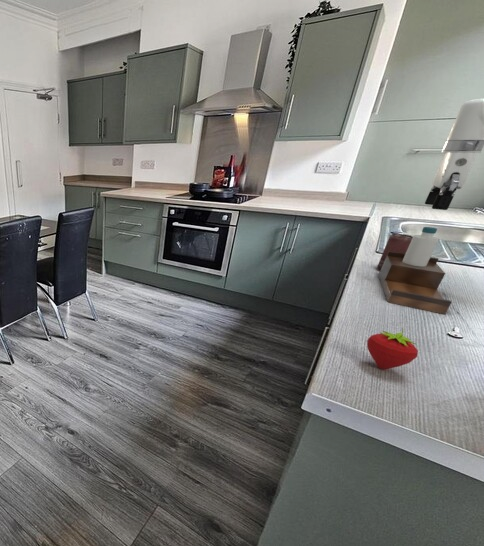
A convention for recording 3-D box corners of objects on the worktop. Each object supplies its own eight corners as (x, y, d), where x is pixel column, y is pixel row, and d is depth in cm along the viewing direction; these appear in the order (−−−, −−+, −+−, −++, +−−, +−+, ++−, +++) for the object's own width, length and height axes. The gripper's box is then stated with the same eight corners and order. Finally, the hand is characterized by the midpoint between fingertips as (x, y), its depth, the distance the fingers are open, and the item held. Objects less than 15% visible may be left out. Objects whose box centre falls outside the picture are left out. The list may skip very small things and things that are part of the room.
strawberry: (359, 354, 71) (376, 316, 67) (405, 369, 66) (426, 329, 62) (357, 366, 67) (374, 327, 63) (406, 384, 62) (428, 342, 58)
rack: (425, 284, 106) (437, 258, 103) (445, 314, 87) (461, 284, 84) (378, 275, 113) (388, 250, 109) (387, 302, 94) (400, 273, 90)
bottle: (424, 262, 103) (441, 227, 98) (428, 267, 99) (445, 231, 94) (400, 259, 106) (416, 225, 101) (403, 263, 102) (419, 228, 97)
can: (384, 267, 121) (399, 232, 115) (402, 273, 115) (419, 237, 109) (371, 268, 120) (385, 233, 114) (389, 274, 114) (405, 238, 108)
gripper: (494, 147, 81) (461, 213, 87) (472, 147, 93) (445, 204, 100) (451, 147, 85) (423, 209, 92) (436, 147, 98) (412, 201, 104)
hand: (435, 206), depth 96 cm, fingers open, 9 cm apart
